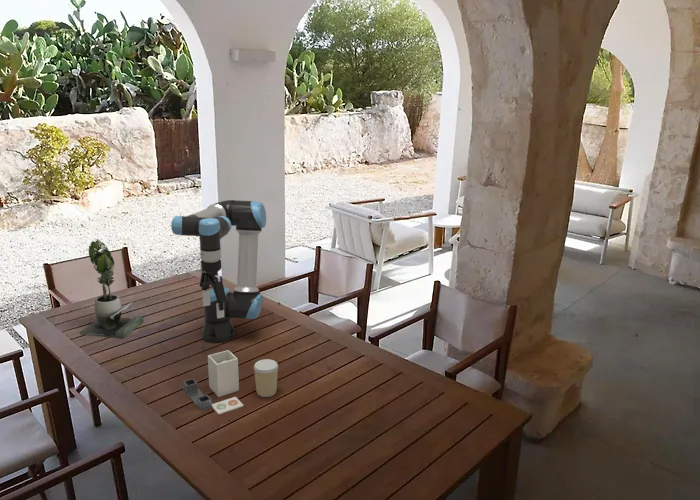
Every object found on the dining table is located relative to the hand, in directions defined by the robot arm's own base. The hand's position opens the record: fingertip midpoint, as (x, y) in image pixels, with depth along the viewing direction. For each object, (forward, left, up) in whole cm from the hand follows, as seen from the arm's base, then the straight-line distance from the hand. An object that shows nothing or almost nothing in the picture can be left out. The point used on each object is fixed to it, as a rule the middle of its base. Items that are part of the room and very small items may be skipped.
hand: (213, 311), depth 223 cm
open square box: (0, +7, -31) cm, 31 cm away
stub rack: (+11, +7, -31) cm, 33 cm away
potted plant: (+22, -73, -31) cm, 82 cm away
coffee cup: (-13, +18, -31) cm, 38 cm away
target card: (+4, +19, -31) cm, 36 cm away
